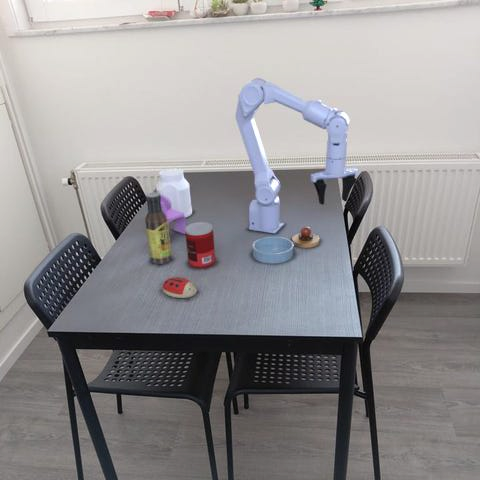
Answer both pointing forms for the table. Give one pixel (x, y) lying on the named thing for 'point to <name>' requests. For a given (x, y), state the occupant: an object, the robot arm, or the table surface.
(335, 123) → the robot arm
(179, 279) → the ladybug figurine
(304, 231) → the ball
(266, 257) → the light blue bowl
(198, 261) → the canned food
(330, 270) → the table surface
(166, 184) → the jar
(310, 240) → the holder
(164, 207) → the toy chair
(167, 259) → the sauce bottle
